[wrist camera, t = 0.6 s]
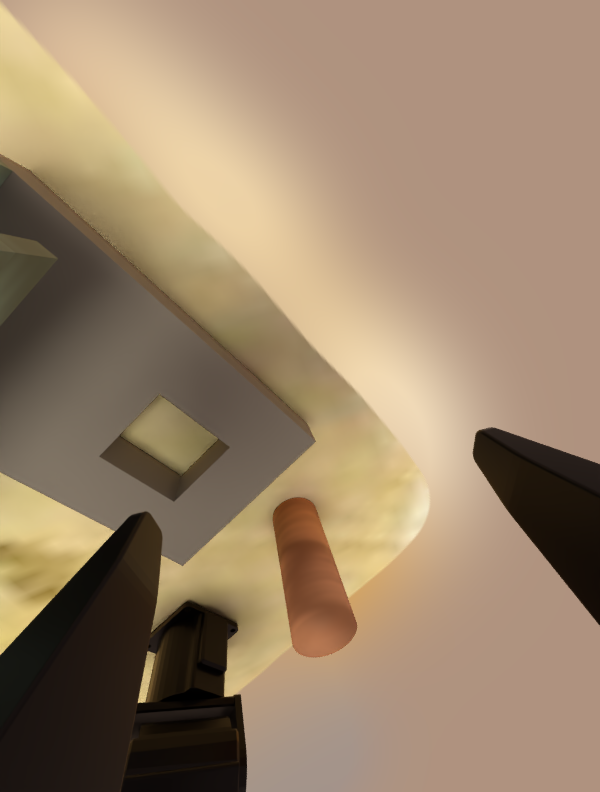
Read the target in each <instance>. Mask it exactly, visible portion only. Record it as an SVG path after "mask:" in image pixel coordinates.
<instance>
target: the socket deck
mask: <svg viewBox="0 0 600 792" xmlns="http://www.w3.org/2000/svg"><path fill="white" fill-rule="evenodd" d="M0 160H1V161H2V162H3V163H5V164H6V165H7V166H8V167H9V168H10V169H11V170H12V173H11V174H10V175H9V176H8V178H7V179H6V180H5V181H4V183H3V184H2V185H1V186H0V233H1V234H6V235H11V236H15V237H20V238H24V239H29V240H34V241H37V242H38V243H40V244H41V245H42V246H43V247H45V248H46V249H47V250H48V251H49V252H51V253H52V254H53V255H54V256H55V257H57V258H58V259H57V261H56V262H55V263H54V264H53V265H52V266H51V268H50V269H49V270H48V271H47V272H46V273H45V275H44V276H43V277H42V278H41V279H40V280H39V282H38V283H37V284H36V285H35V286H34V287H33V289H32V290H31V291H30V292H29V293H28V294H27V296H26V297H25V298H24V299H23V300H22V301H21V302H20V304H19V305H18V306H17V307H16V308H15V309H14V311H13V312H12V313H11V314H10V315H9V316H8V318H7V319H6V320H5V321H4V322H3V323H2V325H1V326H0V472H1V473H3V474H5V475H7V476H9V477H11V478H13V479H15V480H17V481H18V482H20V483H22V484H24V485H26V486H28V487H30V488H32V489H34V490H36V491H38V492H40V493H42V494H44V495H46V496H48V497H50V498H52V499H53V500H55V501H57V502H59V503H61V504H63V505H65V506H67V507H69V508H71V509H73V510H75V511H77V512H79V513H81V514H83V515H85V516H87V517H89V518H90V519H92V520H94V521H96V522H98V523H100V524H102V525H104V526H106V527H108V528H110V529H112V530H114V531H116V530H117V529H118V528H119V527H120V526H121V525H122V524H123V522H124V521H125V520H126V519H127V518H128V517H129V516H131V515H132V514H136V513H140V512H144V511H147V512H149V513H150V514H151V515H152V517H153V518H154V520H155V521H156V523H157V524H158V526H159V528H160V529H161V531H162V536H163V541H162V552H161V555H162V556H164V557H166V558H168V559H170V560H172V561H174V562H176V563H178V564H180V565H182V566H183V565H184V564H185V563H186V562H187V561H189V560H190V559H191V558H192V557H193V556H194V555H195V554H196V553H197V552H198V551H199V550H200V549H201V548H202V547H203V546H205V545H206V544H207V543H208V542H209V541H210V540H211V539H212V538H213V537H214V536H215V535H216V534H217V533H218V532H220V531H221V530H222V529H223V528H224V527H225V526H226V525H227V524H228V523H229V522H230V521H231V520H232V519H233V518H234V517H236V516H237V515H238V514H239V513H240V512H241V511H242V510H243V509H244V508H245V507H246V506H247V505H248V504H249V503H251V502H252V501H253V500H254V499H255V498H256V497H257V496H258V495H259V494H260V493H261V492H262V491H263V490H264V489H265V488H267V487H268V486H269V485H270V484H271V483H272V482H273V481H274V480H275V479H276V478H277V477H278V476H279V475H280V474H282V473H283V472H284V471H285V470H286V469H287V468H288V467H289V466H290V465H291V464H292V463H293V462H294V461H295V460H297V459H298V458H299V457H300V456H301V455H302V454H303V453H304V452H305V451H306V450H307V449H308V448H309V447H310V446H311V445H313V444H314V443H315V442H316V441H315V439H314V437H313V435H312V433H311V431H310V429H309V427H308V425H307V423H306V422H305V421H304V420H302V419H301V418H300V417H299V416H298V415H297V414H296V413H295V412H294V411H293V410H291V409H290V408H289V407H288V406H287V405H286V404H285V403H284V402H283V401H282V400H281V399H279V398H278V397H277V396H276V395H275V394H274V393H273V392H272V391H271V390H270V389H268V388H267V387H266V386H265V385H264V384H263V383H262V382H261V381H260V380H259V379H257V378H256V377H255V376H254V375H253V374H252V373H251V372H250V371H249V370H248V369H246V368H245V367H244V366H243V365H242V364H241V363H240V362H239V361H238V360H237V359H236V358H234V357H233V356H232V355H231V354H230V353H229V352H228V351H227V350H226V349H225V348H223V347H222V346H221V345H220V344H219V343H218V342H217V341H216V340H215V339H214V338H212V337H211V336H210V335H209V334H208V333H207V332H206V331H205V330H204V329H203V328H201V327H200V326H199V325H198V324H197V323H196V322H195V321H194V320H193V319H192V318H191V317H189V316H188V315H187V314H186V313H185V312H184V311H183V310H182V309H181V308H180V307H178V306H177V305H176V304H175V303H174V302H173V301H172V300H171V299H170V298H169V297H167V296H166V295H165V294H164V293H163V292H162V291H161V290H160V289H159V288H158V287H157V286H155V285H154V284H153V283H152V282H151V281H150V280H149V279H148V278H147V277H146V276H144V275H143V274H142V273H141V272H140V271H139V270H138V269H137V268H136V267H135V266H133V265H132V264H131V263H130V262H129V261H128V260H127V259H126V258H125V257H124V256H122V255H121V254H120V253H119V252H118V251H117V250H116V249H115V248H114V247H113V246H112V245H110V244H109V243H108V242H107V241H106V240H105V239H104V238H103V237H102V236H101V235H99V234H98V233H97V232H96V231H95V230H94V229H93V228H92V227H91V226H90V225H88V224H87V223H86V222H85V221H84V220H83V219H82V218H81V217H80V216H79V215H77V214H76V213H75V212H74V211H73V210H72V209H71V208H70V207H69V206H68V205H67V204H65V203H64V202H63V201H62V200H61V199H60V198H59V197H58V196H57V195H56V194H54V193H53V192H52V191H51V190H50V189H49V188H48V187H47V186H46V185H45V184H43V183H42V182H41V181H40V180H39V179H38V178H37V177H36V176H35V175H34V174H32V173H31V172H30V171H29V170H28V169H26V168H24V167H23V166H21V165H19V164H17V163H15V162H14V161H12V160H10V159H8V158H6V157H5V156H3V155H1V154H0ZM159 394H160V395H161V396H163V397H164V398H165V399H167V400H168V401H169V402H171V403H172V404H173V405H175V406H176V407H177V408H179V409H180V410H181V411H183V412H184V413H185V414H187V415H188V416H189V417H191V418H192V419H193V420H195V421H196V422H197V423H199V424H200V425H201V426H203V427H204V428H205V429H207V430H208V431H209V432H210V433H212V434H213V435H214V436H216V437H217V438H218V439H219V440H218V441H217V442H216V443H215V444H214V445H213V446H212V447H211V448H210V449H209V450H208V451H206V452H205V453H204V454H203V455H202V456H201V457H200V458H199V459H198V460H197V461H196V462H195V463H194V464H193V465H192V466H191V467H190V468H189V469H188V470H187V471H186V472H185V473H184V474H183V475H182V476H180V475H178V474H177V473H175V472H174V471H172V470H171V469H169V468H168V467H166V466H165V465H163V464H162V463H160V462H158V461H157V460H155V459H154V458H152V457H151V456H149V455H148V454H146V453H145V452H143V451H142V450H140V449H139V448H137V447H135V446H134V445H132V444H131V443H129V442H128V441H126V440H125V439H123V438H122V437H120V436H119V435H120V434H121V433H122V432H123V431H124V430H125V429H126V428H127V427H128V426H129V425H130V424H131V423H132V422H133V421H134V420H135V419H136V418H137V417H138V416H139V415H140V414H141V413H142V411H143V410H144V409H145V408H146V407H147V406H148V405H149V404H150V403H151V402H152V401H153V400H154V399H155V398H156V397H157V396H158V395H159Z"/></svg>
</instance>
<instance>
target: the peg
mask: <svg viewBox="0 0 600 792" xmlns="http://www.w3.org/2000/svg"><path fill="white" fill-rule="evenodd" d="M273 524H274V531H275V537H276V543H277V550H278V556H279V562H280V568H281V575H282V581H283V587H284V594H285V600H286V606H287V612H288V619H289V625H290V631H291V638H292V644H293V647H294V649H295V651H296V652H298V653H299V654H301V655H303V656H307V657H322V656H326V655H329V654H332V653H334V652H336V651H338V650H340V649H342V648H343V647H344V646H346V645H347V644H348V643H349V642H350V641H351V640H352V638H353V637H354V635H355V633H356V630H357V623H356V620H355V617H354V614H353V611H352V609H351V606H350V603H349V600H348V597H347V595H346V592H345V589H344V586H343V583H342V581H341V578H340V575H339V572H338V569H337V567H336V564H335V561H334V558H333V555H332V553H331V550H330V547H329V544H328V541H327V539H326V536H325V533H324V530H323V527H322V525H321V522H320V519H319V516H318V514H317V511H316V508H315V506H314V504H313V503H312V502H311V501H309V500H307V499H304V498H292V499H288V500H286V501H284V502H283V503H281V504H280V505H279V506H278V507H277V508H276V510H275V511H274V514H273Z"/></svg>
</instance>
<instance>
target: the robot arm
mask: <svg viewBox="0 0 600 792" xmlns="http://www.w3.org/2000/svg"><path fill="white" fill-rule="evenodd" d="M473 457H474V460H475V462H476V463H477V465H478V467H479V468H480V470H481V471H482V472H483V474H484V476H485V477H486V478H487V480H488V482H489V483H490V485H491V486H492V488H493V489H494V491H495V493H496V494H497V496H498V497H499V499H500V500H501V502H502V503H503V505H504V506H505V508H506V509H507V510H508V512H509V513H510V514H511V516H512V517H513V518H514V519H515V521H516V522H517V523H518V524H519V526H520V527H521V528H522V529H523V531H524V532H525V533H526V534H527V536H528V537H529V538H530V539H531V541H532V542H533V543H534V544H535V546H536V547H537V548H538V549H539V551H540V552H541V553H542V554H543V556H544V557H545V558H546V559H547V560H548V562H549V563H550V564H551V565H552V567H553V568H554V569H555V570H556V572H557V573H558V574H559V575H560V577H561V578H562V579H563V580H564V582H565V583H566V584H567V585H568V587H569V588H570V589H571V590H572V591H573V593H574V594H575V595H576V597H577V598H578V599H579V600H580V602H581V603H582V604H583V605H584V607H585V608H586V609H587V610H588V611H589V613H590V614H591V615H592V616H593V618H594V619H595V620H596V622H597V623H598V624H599V625H600V464H598V463H595V462H592V461H589V460H586V459H583V458H581V457H578V456H575V455H571V454H569V453H566V452H563V451H560V450H558V449H554V448H552V447H549V446H546V445H543V444H540V443H537V442H534V441H532V440H528V439H526V438H523V437H520V436H517V435H514V434H511V433H509V432H506V431H503V430H500V429H497V428H492V427H491V428H486V429H482V430H479V431H477V433H476V435H475V442H474V449H473ZM162 541H163V536H162V531H161V529H160V528H159V526H158V524H157V523H156V521H155V520H154V518H153V517H152V515H151V514H150V513H149V512H147V511H144V512H140V513H136V514H132V515H131V516H129V517H128V518H127V519H126V520H125V521H124V522H123V524H122V525H121V526H120V527H119V528H118V529H117V530H116V531H115V532H114V533H113V534H112V535H111V537H110V538H109V539H108V540H107V541H106V542H105V543H104V544H103V545H102V546H101V547H100V548H99V549H98V551H97V552H96V553H95V554H94V555H93V556H92V557H91V558H90V559H89V560H88V561H87V562H86V563H85V565H84V566H83V567H82V568H81V569H80V570H79V571H78V572H77V573H76V574H75V575H74V576H73V577H72V579H71V580H70V581H69V582H68V583H67V584H66V585H65V586H64V587H63V588H62V589H61V590H60V592H59V593H58V594H57V595H56V596H55V597H54V598H53V599H52V600H51V601H50V602H49V603H48V604H47V606H46V607H45V608H44V609H43V610H42V611H41V612H40V613H39V614H38V615H37V616H36V617H35V618H34V620H33V621H32V622H31V623H30V624H29V625H28V626H27V627H26V628H25V629H24V630H23V631H22V632H21V634H20V635H19V636H18V637H17V638H16V639H15V640H14V641H13V642H12V643H11V644H10V645H9V646H8V648H7V649H6V650H5V651H4V652H3V653H2V654H1V655H0V792H246V779H247V755H246V744H245V733H244V724H243V713H242V704H241V695H240V694H238V695H234V696H231V697H224V681H225V671H226V670H227V640H228V639H229V638H231V637H232V636H233V635H234V634H235V633H236V632H237V631H238V624H237V623H235V622H233V621H230V620H228V619H226V618H224V617H222V616H220V615H217V614H215V613H213V612H211V611H209V610H207V609H204V608H202V607H200V606H198V605H196V604H194V603H191V602H187V603H185V604H183V605H182V606H181V607H180V608H179V609H178V610H177V611H176V612H175V613H174V614H173V615H171V616H170V617H169V618H168V619H167V620H166V621H165V622H164V623H163V624H162V625H161V626H159V627H158V628H157V629H156V630H155V631H154V632H153V633H152V634H151V630H152V625H153V620H154V614H155V609H156V603H157V596H158V586H159V575H160V564H161V552H162ZM147 651H150V652H152V653H155V654H156V656H155V660H154V665H153V670H152V674H151V679H150V684H149V688H148V693H147V698H146V702H145V703H138V698H139V693H140V687H141V682H142V677H143V672H144V667H145V661H146V656H147Z"/></svg>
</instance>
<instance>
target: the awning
mask: <svg viewBox="0 0 600 792" xmlns="http://www.w3.org/2000/svg"><path fill="white" fill-rule="evenodd" d="M11 173H12V170H11V169H10V168H9V167H8V166H7V165H6V164H5V163H3V162H2V161H1V160H0V186H1V185H2V184H3V183H4V181H5V180H6V179H7V178H8V176H9V175H10V174H11ZM57 259H58V258H57V257H55V256H54V255H53V254H52V253H51V252H49V251H48V250H47V249H46V248H45V247H43V246H42V245H41V244H40V243H38V242H37V241H34V240H29V239H24V238H20V237H15V236H11V235H6V234H1V233H0V326H1V325H2V323H3V322H4V321H5V320H6V319H7V318H8V316H9V315H10V314H11V313H12V312H13V311H14V309H15V308H16V307H17V306H18V305H19V304H20V302H21V301H22V300H23V299H24V298H25V297H26V296H27V294H28V293H29V292H30V291H31V290H32V289H33V287H34V286H35V285H36V284H37V283H38V282H39V280H40V279H41V278H42V277H43V276H44V275H45V273H46V272H47V271H48V270H49V269H50V268H51V266H52V265H53V264H54V263H55V262H56V261H57Z"/></svg>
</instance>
